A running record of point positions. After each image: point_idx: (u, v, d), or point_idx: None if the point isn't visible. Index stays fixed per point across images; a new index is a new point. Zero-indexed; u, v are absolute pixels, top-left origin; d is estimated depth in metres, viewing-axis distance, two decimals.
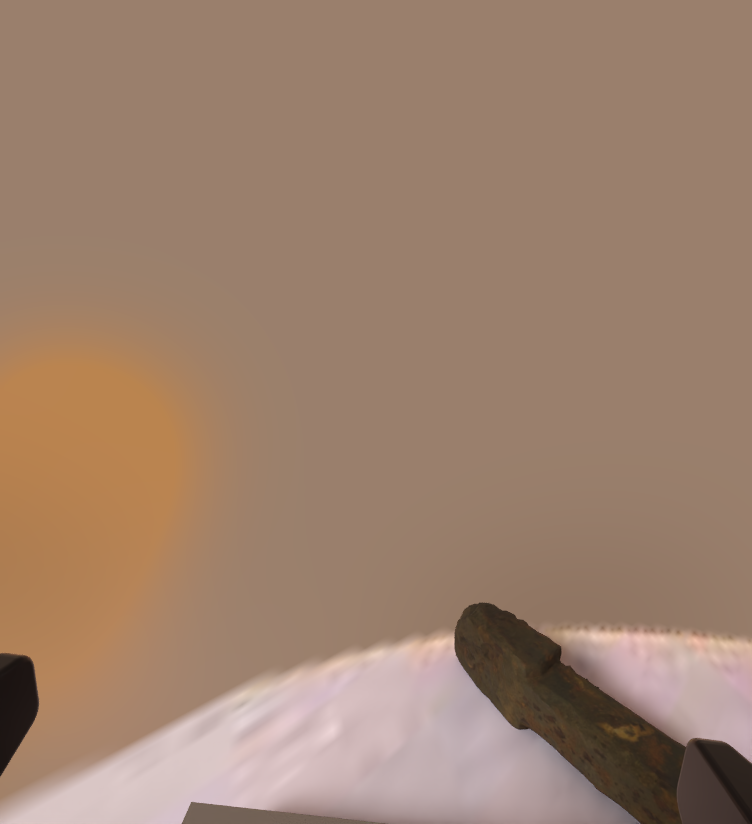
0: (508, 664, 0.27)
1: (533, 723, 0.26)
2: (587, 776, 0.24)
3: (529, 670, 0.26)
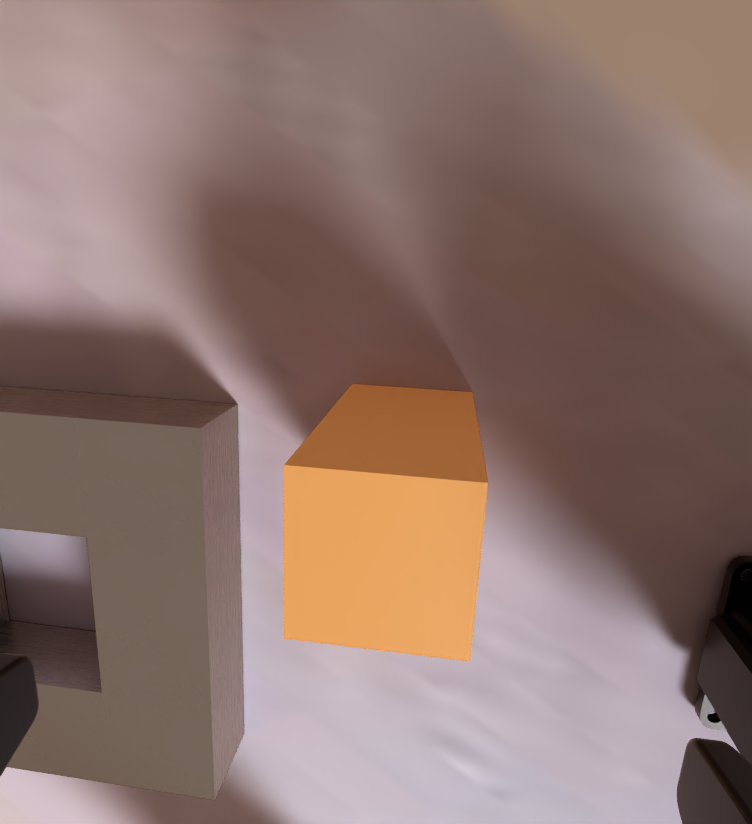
0: None
1: None
2: None
3: None
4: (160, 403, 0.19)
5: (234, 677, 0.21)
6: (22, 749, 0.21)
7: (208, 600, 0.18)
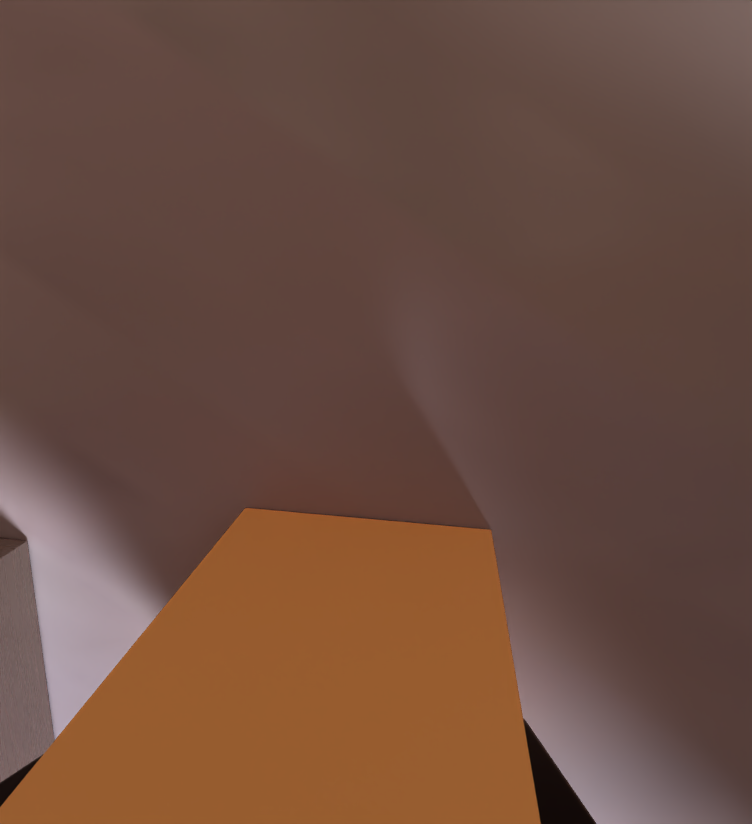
0: None
1: None
2: None
3: None
4: None
5: None
6: None
7: None
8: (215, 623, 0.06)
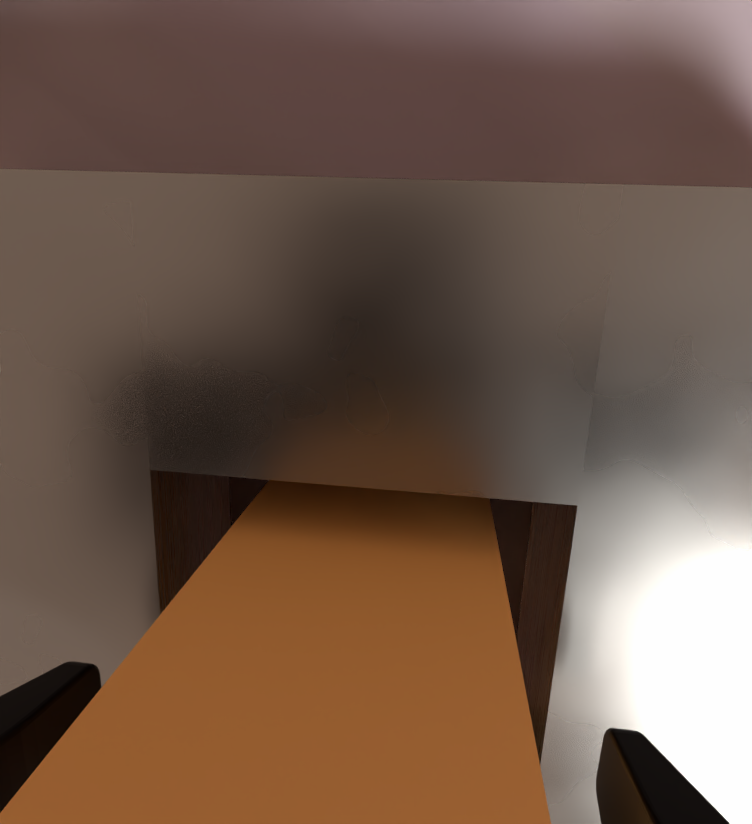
0: None
1: None
2: None
3: None
4: None
5: None
6: None
7: None
8: (272, 537, 0.08)
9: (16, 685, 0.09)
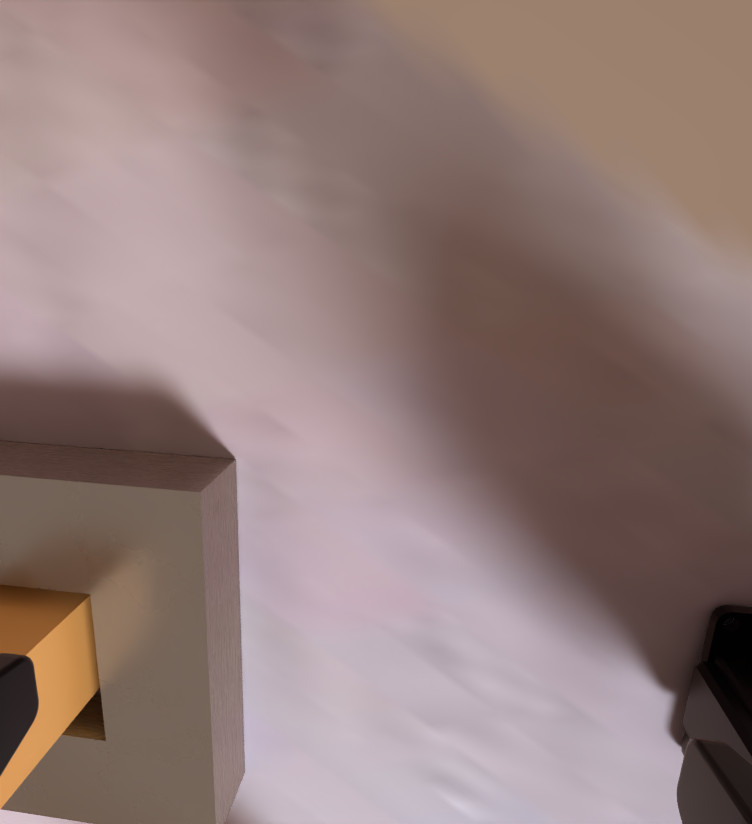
0: None
1: None
2: None
3: None
4: (160, 460, 0.20)
5: (234, 721, 0.22)
6: (28, 794, 0.21)
7: (209, 654, 0.19)
8: None
9: None
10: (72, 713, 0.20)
